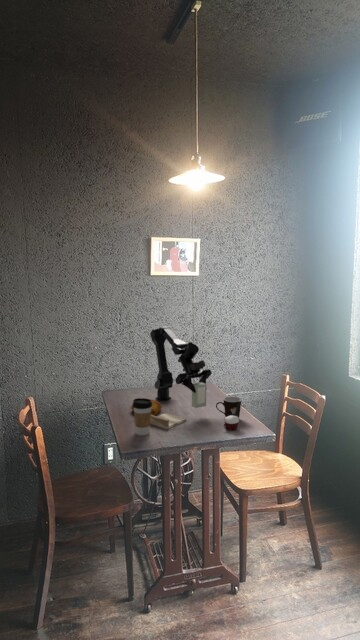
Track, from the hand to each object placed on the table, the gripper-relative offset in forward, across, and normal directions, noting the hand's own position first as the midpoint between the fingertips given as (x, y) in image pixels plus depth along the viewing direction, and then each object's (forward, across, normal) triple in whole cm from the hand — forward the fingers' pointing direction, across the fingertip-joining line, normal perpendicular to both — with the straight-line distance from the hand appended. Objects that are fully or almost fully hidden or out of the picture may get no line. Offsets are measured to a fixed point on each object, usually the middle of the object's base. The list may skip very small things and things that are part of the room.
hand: (200, 391), depth 203 cm
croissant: (-6, -18, +25) cm, 31 cm away
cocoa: (+23, +4, -4) cm, 24 cm away
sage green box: (+4, 0, +6) cm, 8 cm away
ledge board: (+6, -16, +13) cm, 22 cm away
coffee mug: (+16, +11, +4) cm, 19 cm away
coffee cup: (+10, -32, +9) cm, 35 cm away
